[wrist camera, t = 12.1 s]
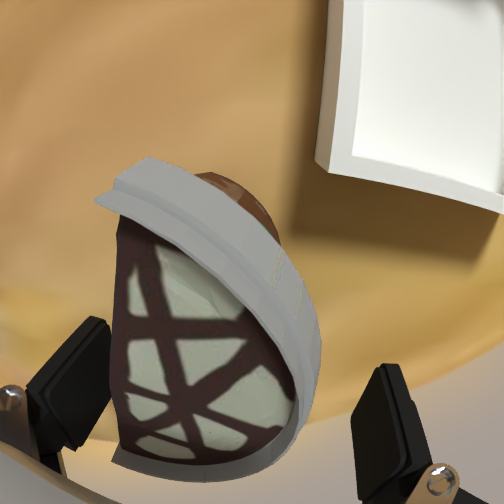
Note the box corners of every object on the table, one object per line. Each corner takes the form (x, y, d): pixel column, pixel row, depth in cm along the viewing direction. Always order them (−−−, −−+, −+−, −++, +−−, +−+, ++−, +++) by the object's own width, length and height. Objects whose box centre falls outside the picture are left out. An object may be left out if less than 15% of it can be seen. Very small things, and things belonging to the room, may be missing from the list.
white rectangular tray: (313, 160, 13) (328, 172, 9) (329, -93, 6) (337, -134, 2) (503, 206, 13) (549, 231, 9) (500, -24, 6) (534, -40, 2)
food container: (262, 364, 18) (245, 505, 9) (173, 336, 18) (111, 465, 9) (340, 183, 14) (438, 280, 4) (218, 143, 13) (97, 168, 4)
